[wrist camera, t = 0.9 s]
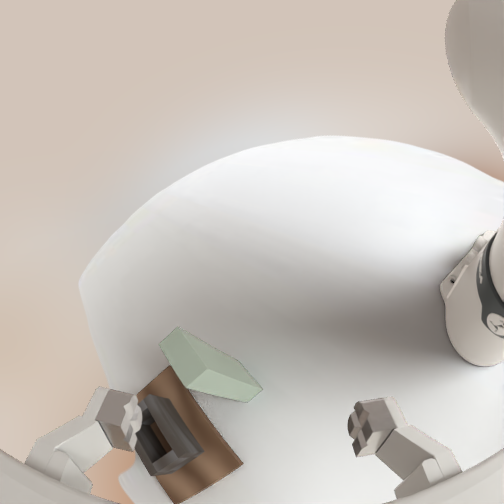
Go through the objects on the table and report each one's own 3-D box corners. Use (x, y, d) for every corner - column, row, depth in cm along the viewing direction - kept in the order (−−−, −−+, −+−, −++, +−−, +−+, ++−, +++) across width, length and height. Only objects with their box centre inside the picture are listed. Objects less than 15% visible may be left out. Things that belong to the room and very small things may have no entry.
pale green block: (238, 360, 41) (177, 326, 28) (263, 389, 37) (207, 368, 24) (224, 373, 40) (158, 344, 28) (247, 402, 36) (185, 387, 24)
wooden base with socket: (173, 367, 44) (150, 357, 39) (243, 463, 31) (224, 469, 26) (123, 410, 42) (98, 405, 37) (179, 503, 29) (154, 509, 24)
